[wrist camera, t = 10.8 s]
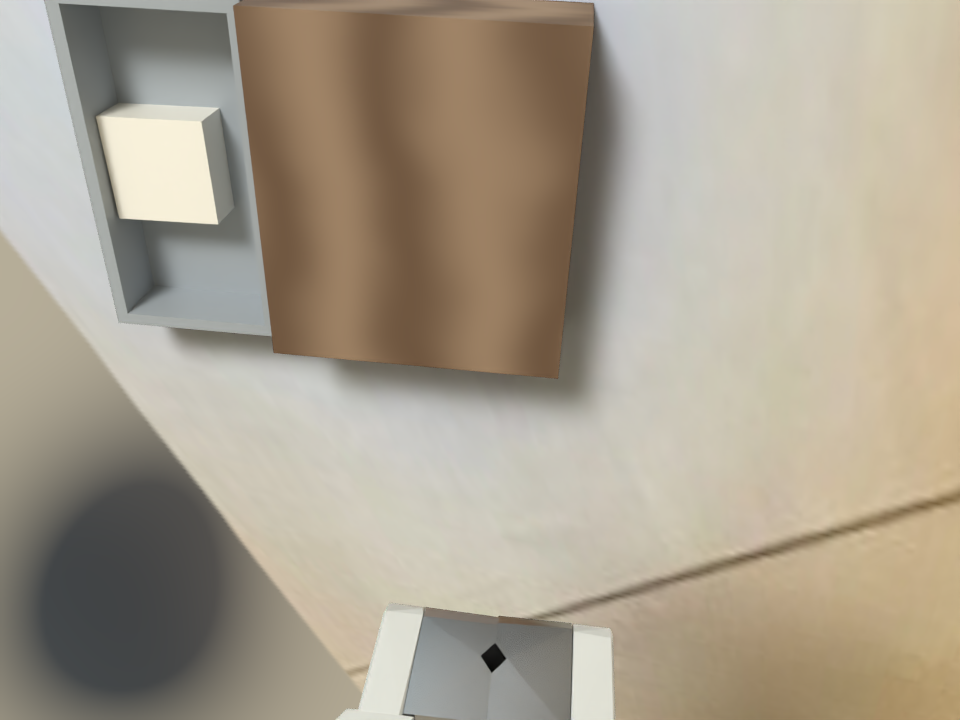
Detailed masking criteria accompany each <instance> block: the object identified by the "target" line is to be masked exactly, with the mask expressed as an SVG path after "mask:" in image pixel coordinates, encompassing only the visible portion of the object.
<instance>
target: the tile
mask: <svg viewBox="0 0 960 720" xmlns="http://www.w3.org/2000/svg"><path fill="white" fill-rule="evenodd" d="M96 120H97V124H98V129H99V133H100V137H101V142H102V146H103V150H104V154H105V159H106V163H107V167H108V172H109V176H110V180H111V185H112V189H113V193H114V198H115V202H116V206H117V210H118V215H119V218H121V219H137V220H153V221H170V222H186V223H202V224H219V223H220V222H221V221H222V220H223V219H224V218H225V217H226V216H227V215H228V214H229V213H230V211H231V210H232V209H233V208H234V201H233V194H232V187H231V181H230V174H229V167H228V161H227V154H226V148H225V141H224V134H223V128H222V121H221V115H220V108H212V107H192V106H172V105H152V104H132V103H117V104H116V105H114V106H112V107H110V108H109V109H107V110H105V111H104V112H102V113H100V114H98V115H97V116H96Z"/></svg>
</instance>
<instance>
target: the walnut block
mask: <svg viewBox="0 0 960 720" xmlns="http://www.w3.org/2000/svg"><path fill="white" fill-rule="evenodd" d="M233 11H234V19H235V28H236V36H237V45H238V53H239V62H240V70H241V79H242V87H243V96H244V104H245V113H246V121H247V130H248V138H249V147H250V155H251V164H252V172H253V181H254V189H255V198H256V206H257V215H258V223H259V232H260V240H261V249H262V257H263V266H264V274H265V283H266V291H267V300H268V308H269V317H270V325H271V334H272V342H273V350H274V353H280V354H291V355H302V356H314V357H325V358H336V359H347V360H358V361H369V362H380V363H391V364H402V365H413V366H424V367H435V368H446V369H457V370H468V371H479V372H490V373H501V374H512V375H523V376H534V377H545V378H556V379H558V373H559V363H560V354H561V344H562V334H563V324H564V314H565V305H566V295H567V285H568V275H569V265H570V256H571V246H572V236H573V226H574V216H575V206H576V197H577V187H578V177H579V167H580V157H581V148H582V138H583V128H584V118H585V108H586V98H587V89H588V79H589V69H590V59H591V49H592V40H593V30H594V3H583V2H565V1H547V0H243V1H241V2H239V3H237V4H235V5H233Z"/></svg>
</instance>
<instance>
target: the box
mask: <svg viewBox="0 0 960 720" xmlns="http://www.w3.org/2000/svg"><path fill="white" fill-rule="evenodd" d="M241 1H243V0H44V2H45V6H46V10H47V15H48V19H49V23H50V28H51V32H52V36H53V41H54V45H55V49H56V54H57V58H58V62H59V67H60V71H61V75H62V80H63V84H64V88H65V93H66V97H67V101H68V106H69V110H70V114H71V119H72V123H73V127H74V132H75V136H76V140H77V145H78V149H79V153H80V158H81V162H82V166H83V170H84V175H85V179H86V183H87V188H88V192H89V196H90V201H91V205H92V209H93V214H94V218H95V222H96V227H97V231H98V235H99V240H100V244H101V248H102V253H103V257H104V261H105V266H106V270H107V274H108V279H109V283H110V287H111V292H112V296H113V300H114V305H115V309H116V313H117V318H118V322H119V323H128V324H139V325H150V326H162V327H173V328H184V329H195V330H206V331H218V332H229V333H240V334H251V335H263V336H272V334H271V325H270V317H269V308H268V300H267V291H266V283H265V274H264V266H263V257H262V249H261V240H260V232H259V223H258V215H257V206H256V198H255V189H254V181H253V172H252V164H251V155H250V147H249V138H248V130H247V121H246V113H245V104H244V96H243V87H242V79H241V70H240V62H239V53H238V45H237V36H236V28H235V19H234V11H233V5H235V4H237V3H239V2H241ZM117 103H132V104H152V105H172V106H192V107H212V108H220V115H221V121H222V128H223V134H224V141H225V148H226V154H227V161H228V167H229V174H230V181H231V187H232V194H233V201H234V208H233V209H232V210H231V211H230V213H229V214H228V215H227V216H226V217H225V218H224V219H223V220H222V221H221V222H220V223H219V224H202V223H186V222H170V221H153V220H137V219H121V218H119V215H118V210H117V206H116V202H115V198H114V193H113V189H112V185H111V180H110V176H109V172H108V167H107V163H106V159H105V154H104V150H103V146H102V142H101V137H100V133H99V129H98V124H97V120H96V116H97V115H98V114H100V113H102V112H104V111H105V110H107V109H109V108H110V107H112V106H114V105H116V104H117Z"/></svg>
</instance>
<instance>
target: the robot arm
mask: <svg viewBox="0 0 960 720" xmlns="http://www.w3.org/2000/svg"><path fill="white" fill-rule="evenodd" d="M335 720H615V687H614V655H613V634H612V632H611V629H610V628H604V627H595V626H586V625H577V624H573V625H572V624H571V623H566V622H555V621H545V620H535V619H525V618H515V617H505V616H499V617H493V616H486V615H479V614H472V613H464V612H457V611H450V610H443V609H436V608H429V607H419V606H411V605H403V604H396V603H389V604H388V606H387V608H386V610H385V612H384V614H383V618H382V621H381V625H380V629H379V633H378V636H377V640H376V644H375V648H374V652H373V655H372V659H371V663H370V667H369V671H368V674H367V678H366V682H365V686H364V689H363V693H362V697H361V701H360V705H359V709H346V710H345V711H344V712H343V713H342V714H341V715H340V716H339V717H338V718H337V719H335Z"/></svg>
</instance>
